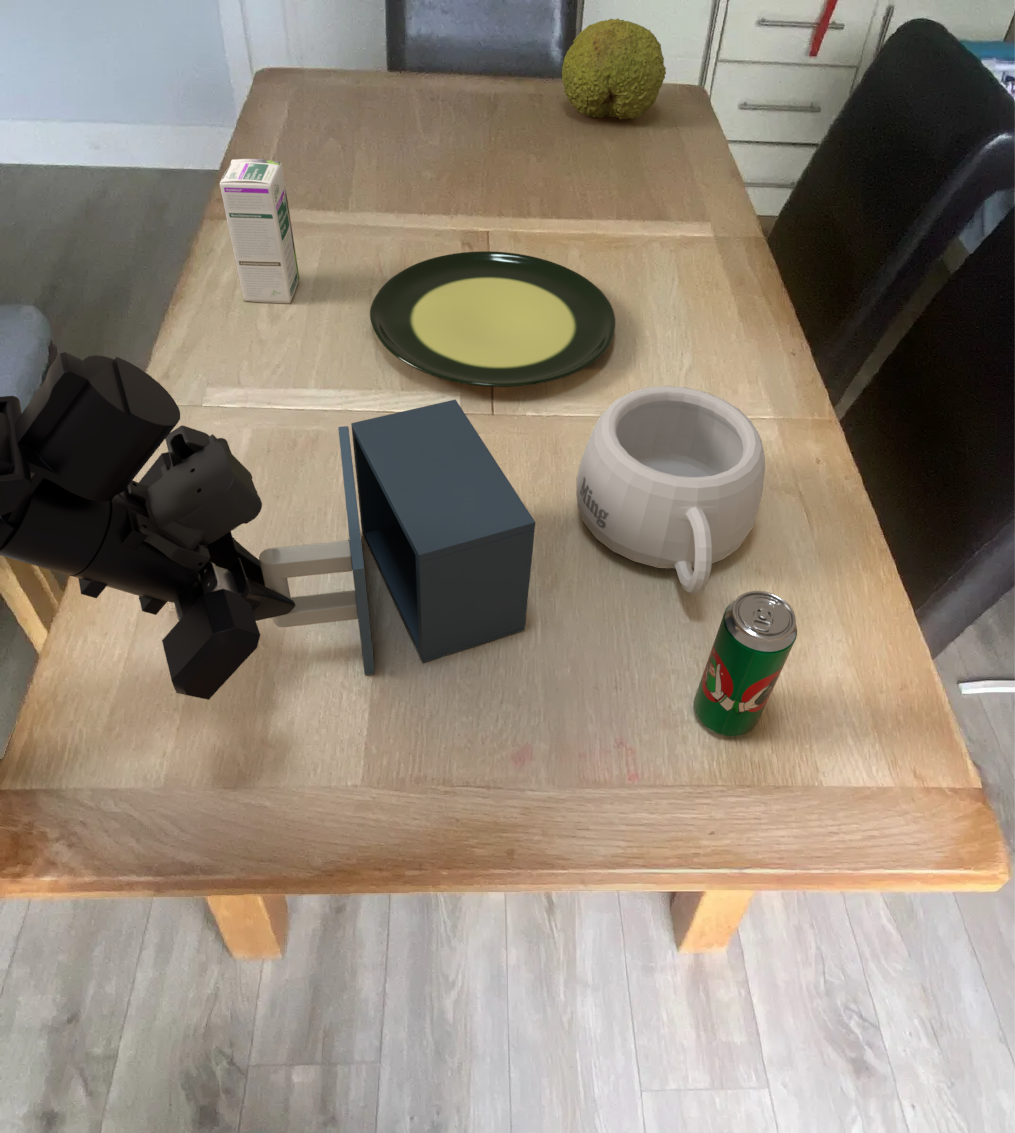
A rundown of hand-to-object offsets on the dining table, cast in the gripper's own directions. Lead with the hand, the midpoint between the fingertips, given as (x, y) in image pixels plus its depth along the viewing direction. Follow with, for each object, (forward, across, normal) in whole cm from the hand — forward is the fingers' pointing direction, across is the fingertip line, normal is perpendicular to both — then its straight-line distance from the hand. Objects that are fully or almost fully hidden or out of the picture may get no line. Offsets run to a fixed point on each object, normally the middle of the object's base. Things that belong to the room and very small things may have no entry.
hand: (288, 598), depth 67 cm
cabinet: (+14, +4, -4) cm, 16 cm away
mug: (+30, +2, -19) cm, 36 cm away
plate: (+28, +38, -18) cm, 51 cm away
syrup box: (+13, +54, -3) cm, 56 cm away
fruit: (+59, +90, -49) cm, 118 cm away
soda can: (+26, -17, -15) cm, 34 cm away
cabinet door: (+7, +5, +3) cm, 9 cm away
